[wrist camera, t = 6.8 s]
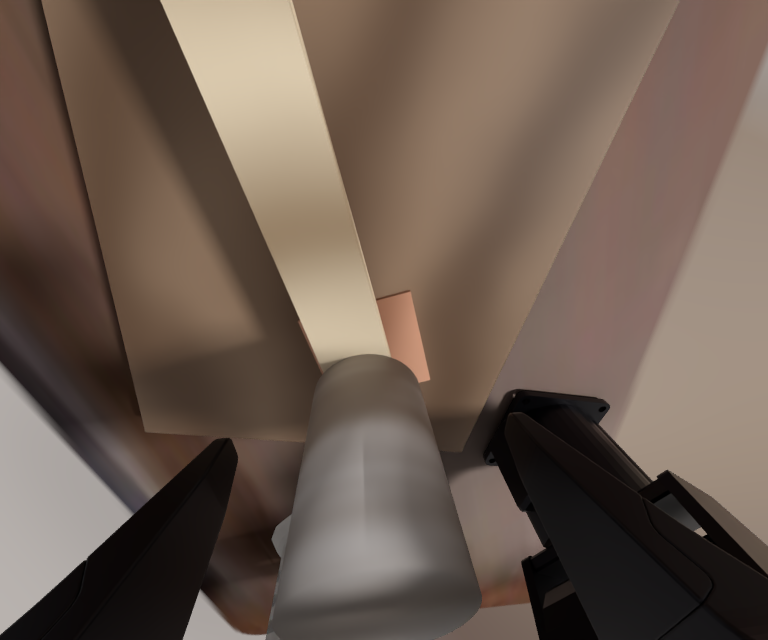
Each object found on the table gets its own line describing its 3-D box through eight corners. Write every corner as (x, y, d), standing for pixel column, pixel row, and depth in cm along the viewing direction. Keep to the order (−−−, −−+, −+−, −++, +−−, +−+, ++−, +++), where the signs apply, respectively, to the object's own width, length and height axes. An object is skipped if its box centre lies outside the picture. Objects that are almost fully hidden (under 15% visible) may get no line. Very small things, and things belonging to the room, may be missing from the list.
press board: (734, -197, 8) (882, -339, 6) (454, 432, 19) (466, 467, 17) (-43, -657, 5) (-370, -1336, 3) (162, 410, 16) (131, 449, 14)
